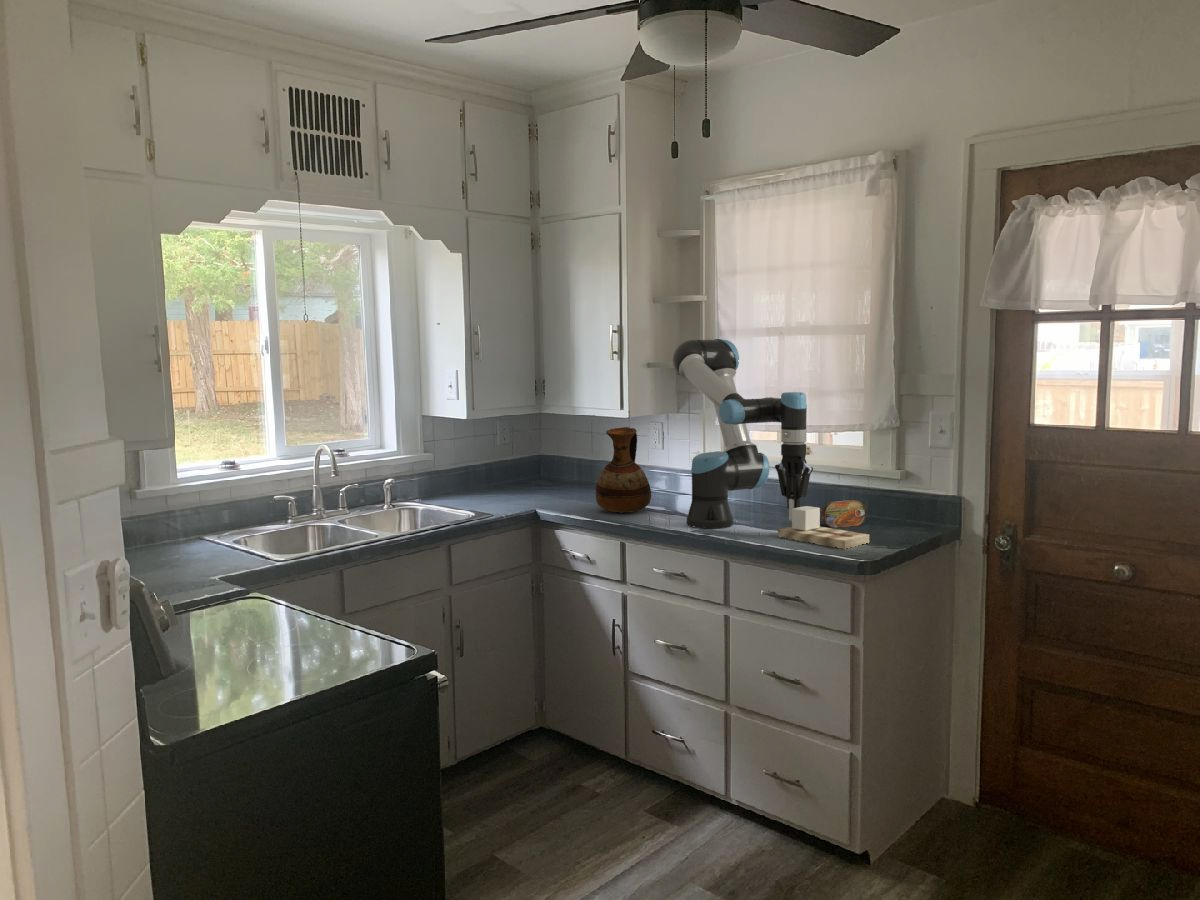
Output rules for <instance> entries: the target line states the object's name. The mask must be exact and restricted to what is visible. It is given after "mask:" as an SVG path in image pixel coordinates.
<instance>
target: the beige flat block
mask: <svg viewBox="0 0 1200 900" xmlns="http://www.w3.org/2000/svg"><path fill="white" fill-rule="evenodd" d="M778 536H780V537H779V538H781V537H785V538H784V539H786V538H790V539H789V540H792V539H795V540H794V541H797V540H799V541H798V542H802V541H805V542H804V543H808V542H810V543H809V544H813V543H815V544H814V545H820V546H823V547H824V546H826V547H829V548H830V547H831V548H835V547H837V549H840V548H843V549H842V550H847V549H846V548H848V549H851V548H850V547H852V548H856V547H859V546H858V545H860V546H863V545H862V544H864V545H866V543H868V544H869V543H870V534H867V533H862V532H855V531H851V530H850V531H849V530H844V529H839V528H832V527H824V526H820V527H819V528H815V529H810V530H806V531H805V530H799V529H793V528H792V525H790V526H785V527H781V528H778V529H777V537H778ZM855 546H856V547H855Z"/></svg>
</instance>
